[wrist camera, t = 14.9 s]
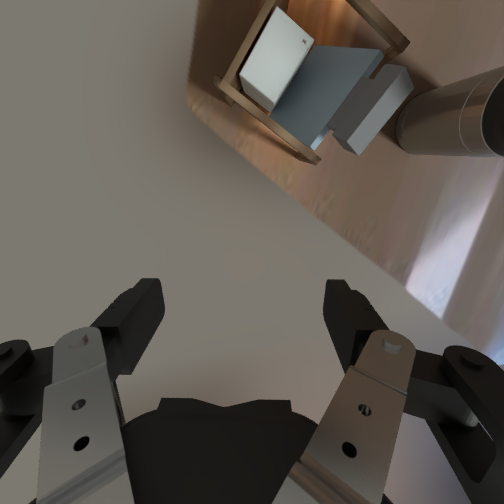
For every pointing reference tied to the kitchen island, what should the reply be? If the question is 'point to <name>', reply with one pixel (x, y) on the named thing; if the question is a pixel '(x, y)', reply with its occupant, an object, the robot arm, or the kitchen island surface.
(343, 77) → the trapdoor
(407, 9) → the kitchen island surface
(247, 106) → the trapdoor frame
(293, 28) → the small box
